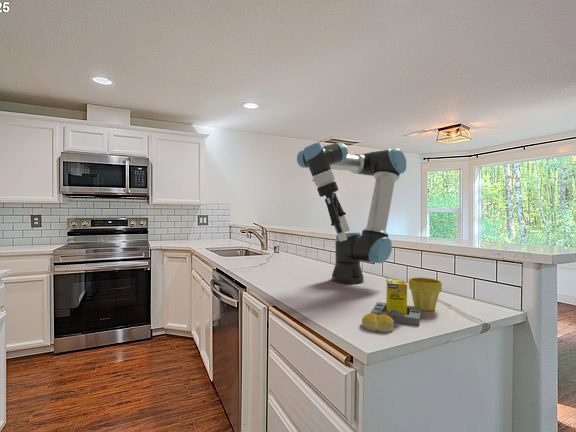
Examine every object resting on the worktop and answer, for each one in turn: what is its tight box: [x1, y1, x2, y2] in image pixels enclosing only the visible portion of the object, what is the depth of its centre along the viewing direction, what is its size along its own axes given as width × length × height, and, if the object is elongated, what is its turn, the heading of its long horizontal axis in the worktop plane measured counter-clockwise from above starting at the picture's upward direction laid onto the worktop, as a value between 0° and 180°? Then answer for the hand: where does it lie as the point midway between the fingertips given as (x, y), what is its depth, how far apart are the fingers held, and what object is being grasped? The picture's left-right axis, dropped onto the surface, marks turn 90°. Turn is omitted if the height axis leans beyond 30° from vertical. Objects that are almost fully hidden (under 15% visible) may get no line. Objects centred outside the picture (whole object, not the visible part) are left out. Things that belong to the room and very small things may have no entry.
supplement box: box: [385, 279, 408, 315], centre depth 101 cm, size 6×6×11 cm
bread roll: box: [361, 312, 395, 333], centre depth 91 cm, size 8×9×4 cm
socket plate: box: [370, 301, 422, 326], centre depth 101 cm, size 12×14×2 cm
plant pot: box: [408, 276, 443, 312], centre depth 109 cm, size 10×10×10 cm
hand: (345, 235), depth 120 cm, fingers open, 13 cm apart
